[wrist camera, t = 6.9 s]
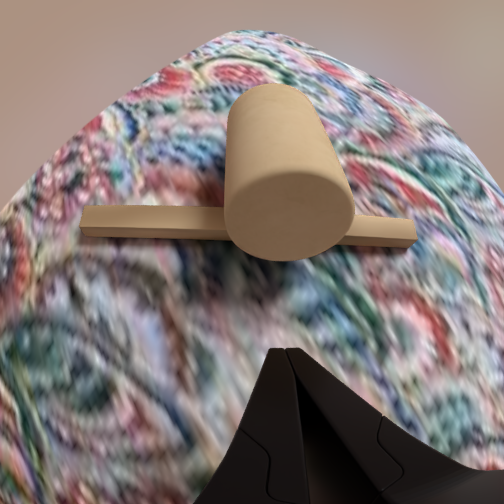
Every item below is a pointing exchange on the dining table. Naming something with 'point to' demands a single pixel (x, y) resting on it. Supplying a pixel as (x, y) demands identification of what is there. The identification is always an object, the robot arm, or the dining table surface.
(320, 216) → the candle
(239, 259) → the dining table surface
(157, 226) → the oak strip
